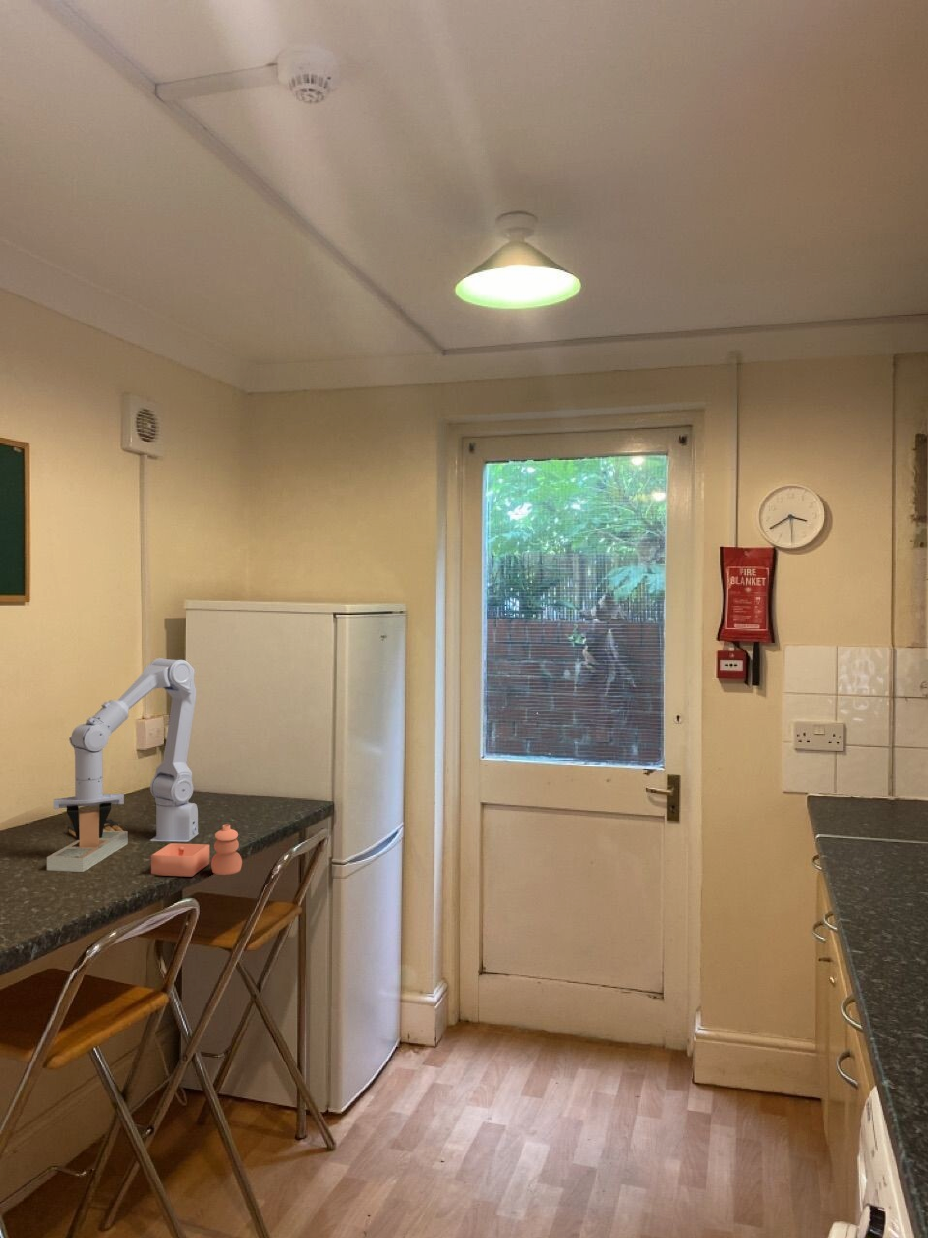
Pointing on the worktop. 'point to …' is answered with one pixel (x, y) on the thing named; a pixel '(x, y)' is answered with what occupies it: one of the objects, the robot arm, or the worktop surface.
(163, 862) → the pottery
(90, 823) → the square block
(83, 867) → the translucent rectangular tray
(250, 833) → the worktop surface
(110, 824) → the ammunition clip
